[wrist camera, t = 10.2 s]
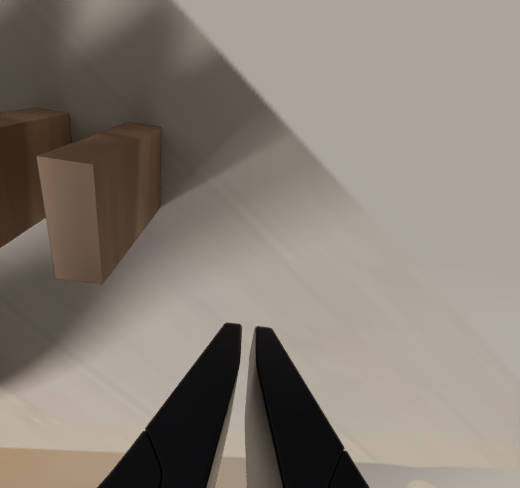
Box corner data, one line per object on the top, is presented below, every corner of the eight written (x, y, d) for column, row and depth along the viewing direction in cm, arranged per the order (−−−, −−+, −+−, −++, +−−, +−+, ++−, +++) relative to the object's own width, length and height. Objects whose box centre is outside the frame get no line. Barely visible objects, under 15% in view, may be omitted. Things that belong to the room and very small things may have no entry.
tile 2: (47, 192, 20) (-79, 261, 13) (34, 107, 18) (-127, 132, 10) (77, 196, 20) (-30, 267, 13) (68, 113, 18) (-67, 140, 11)
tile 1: (130, 203, 20) (55, 278, 13) (128, 122, 18) (36, 156, 11) (160, 207, 21) (102, 284, 13) (161, 127, 18) (92, 164, 11)
